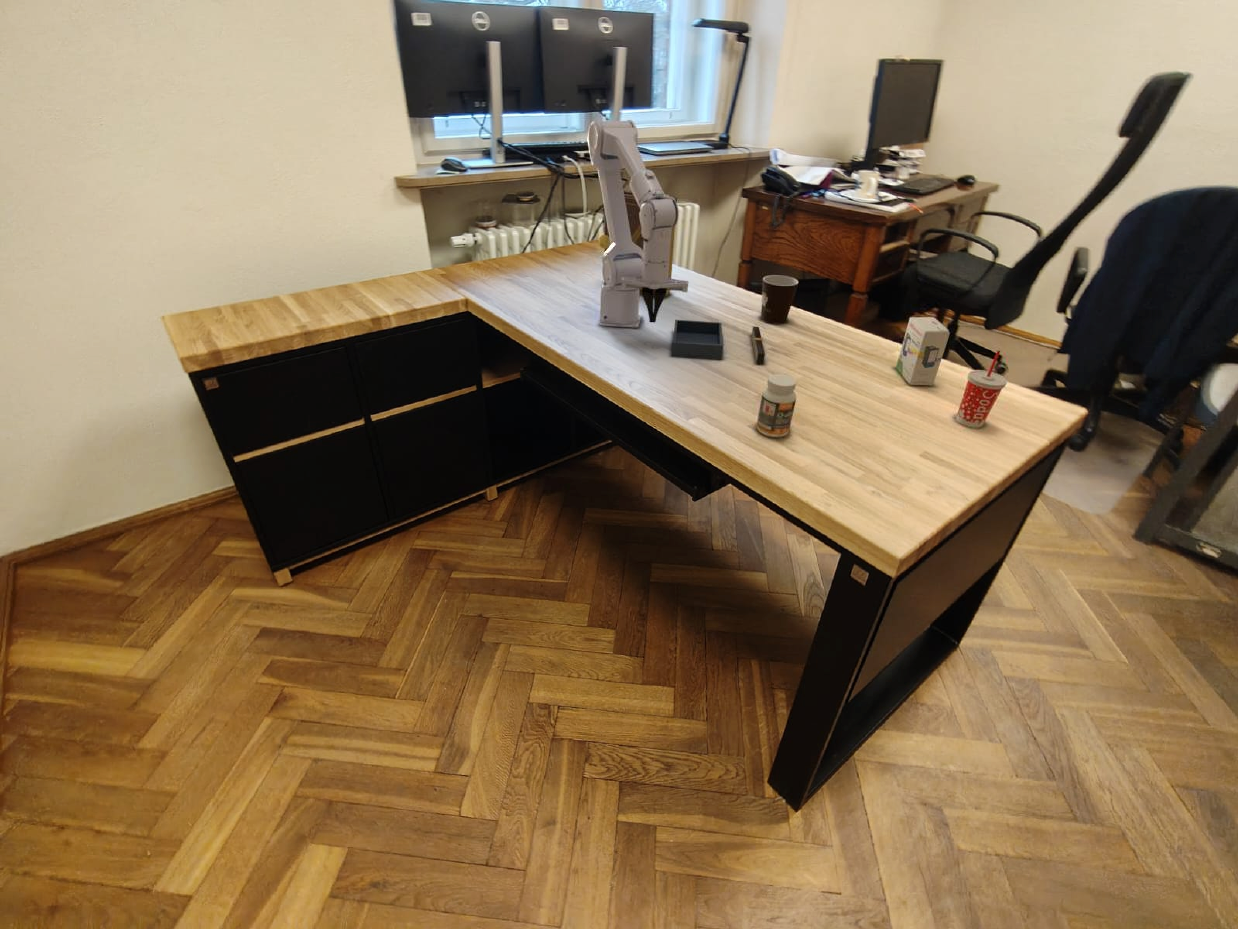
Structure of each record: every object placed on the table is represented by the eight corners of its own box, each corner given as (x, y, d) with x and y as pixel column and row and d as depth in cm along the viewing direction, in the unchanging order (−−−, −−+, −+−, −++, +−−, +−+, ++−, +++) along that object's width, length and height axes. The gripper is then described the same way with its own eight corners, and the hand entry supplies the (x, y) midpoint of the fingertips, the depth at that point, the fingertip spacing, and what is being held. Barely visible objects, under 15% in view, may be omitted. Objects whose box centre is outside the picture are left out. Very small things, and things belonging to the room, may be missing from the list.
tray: (671, 356, 129) (672, 342, 127) (674, 332, 141) (675, 319, 139) (721, 359, 128) (723, 345, 127) (719, 335, 140) (721, 322, 138)
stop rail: (755, 363, 127) (757, 352, 125) (750, 336, 140) (752, 325, 139) (763, 364, 127) (765, 353, 125) (757, 336, 140) (759, 326, 138)
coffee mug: (791, 326, 146) (799, 287, 140) (756, 323, 147) (762, 284, 141) (789, 311, 155) (797, 273, 149) (756, 308, 156) (762, 270, 151)
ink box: (933, 386, 120) (953, 331, 113) (908, 385, 120) (926, 330, 113) (917, 368, 127) (934, 316, 120) (893, 367, 127) (909, 315, 120)
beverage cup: (952, 425, 107) (981, 354, 99) (949, 410, 112) (977, 341, 104) (989, 432, 105) (1022, 360, 97) (985, 416, 110) (1015, 347, 102)
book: (674, 292, 165) (681, 197, 151) (659, 300, 159) (666, 202, 145) (609, 278, 175) (610, 187, 161) (593, 285, 169) (593, 191, 155)
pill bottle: (778, 442, 101) (789, 390, 95) (749, 430, 104) (758, 379, 98) (794, 429, 104) (805, 379, 99) (766, 418, 107) (775, 369, 102)
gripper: (620, 262, 122) (619, 325, 130) (689, 266, 121) (684, 329, 129) (624, 254, 128) (622, 314, 136) (690, 257, 127) (685, 318, 134)
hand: (652, 320), depth 132 cm, fingers closed
